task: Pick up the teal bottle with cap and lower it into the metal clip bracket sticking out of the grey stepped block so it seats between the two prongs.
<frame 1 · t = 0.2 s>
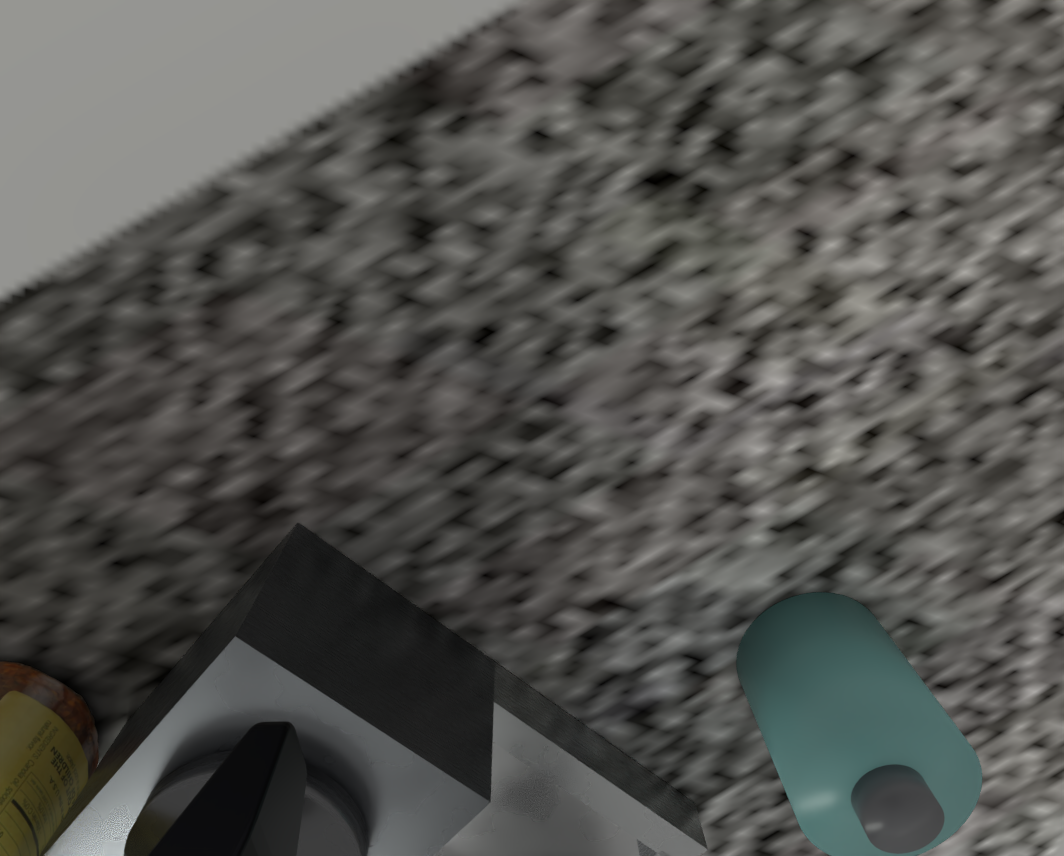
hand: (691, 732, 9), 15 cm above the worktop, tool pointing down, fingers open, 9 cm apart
sauce bottle: (27, 725, 27), on the worktop
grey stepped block: (308, 693, 27), on the worktop
teal bottle with cap: (810, 656, 27), on the worktop
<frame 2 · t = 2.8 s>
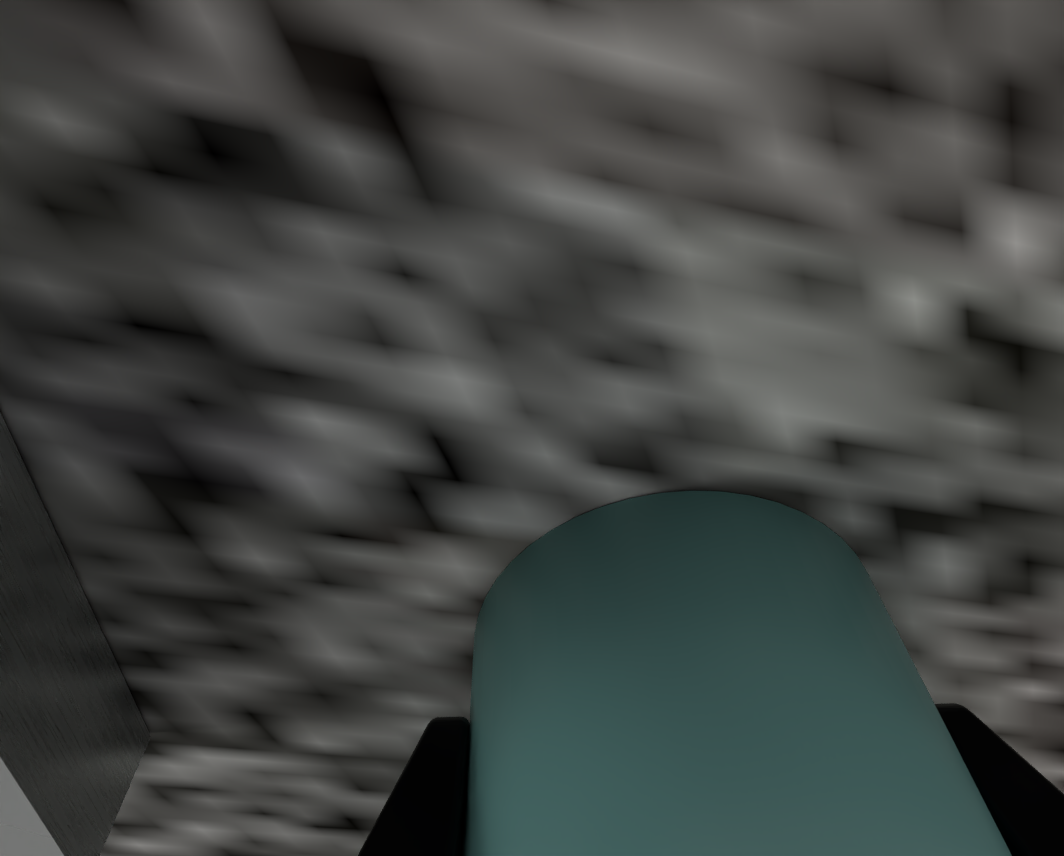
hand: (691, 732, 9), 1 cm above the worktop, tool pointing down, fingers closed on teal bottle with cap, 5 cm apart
teal bottle with cap: (672, 646, 10), on the worktop, touching gripper
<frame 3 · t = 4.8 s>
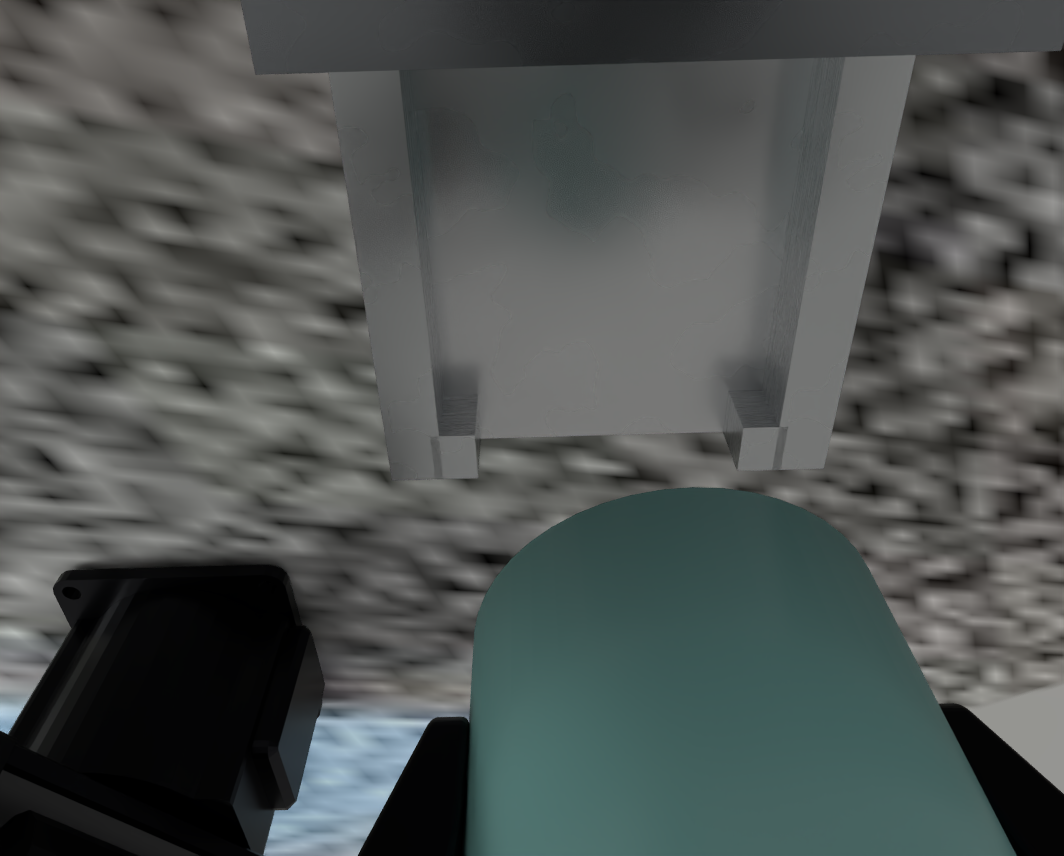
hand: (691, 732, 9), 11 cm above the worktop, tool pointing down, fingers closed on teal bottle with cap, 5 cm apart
teal bottle with cap: (673, 644, 10), point 10 cm above the worktop, touching gripper
when the fingers open (3 cm above the worktop, at t = 6.9 s): teal bottle with cap drops 2 cm, resting on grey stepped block.
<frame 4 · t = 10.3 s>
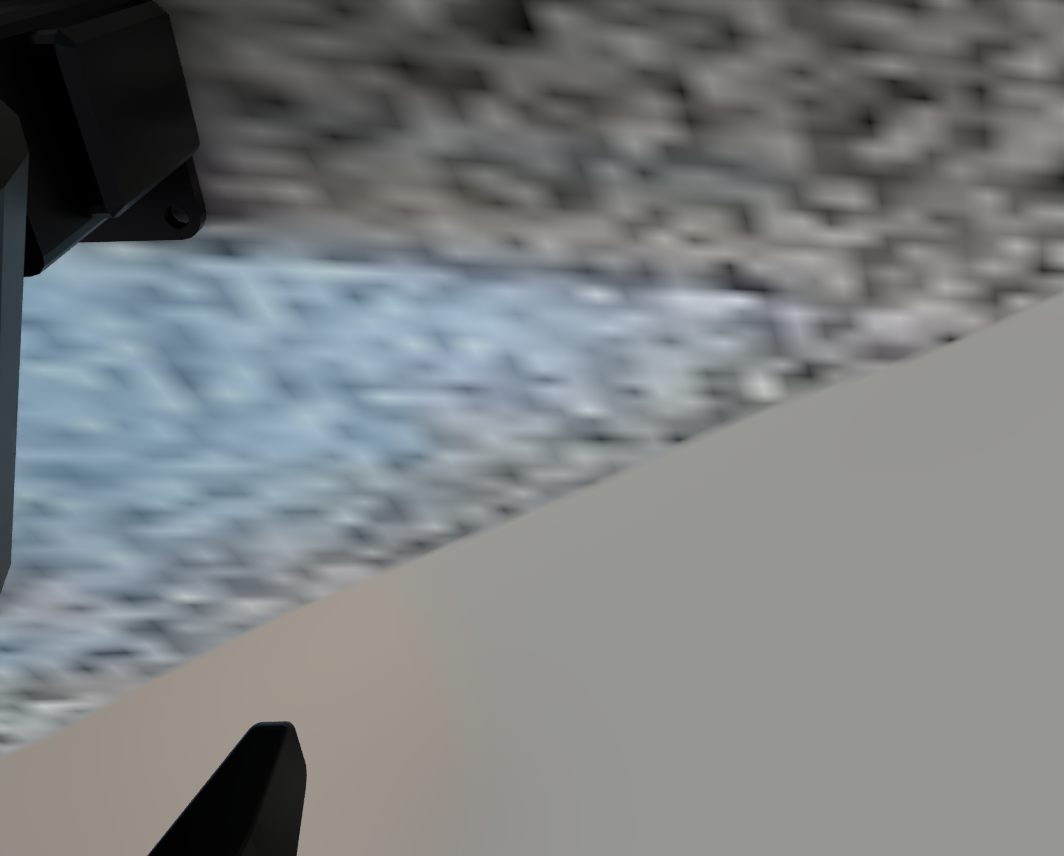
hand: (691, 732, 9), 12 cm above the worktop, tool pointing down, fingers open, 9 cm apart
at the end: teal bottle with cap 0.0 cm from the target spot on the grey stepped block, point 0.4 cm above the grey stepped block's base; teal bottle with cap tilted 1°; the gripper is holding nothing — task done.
